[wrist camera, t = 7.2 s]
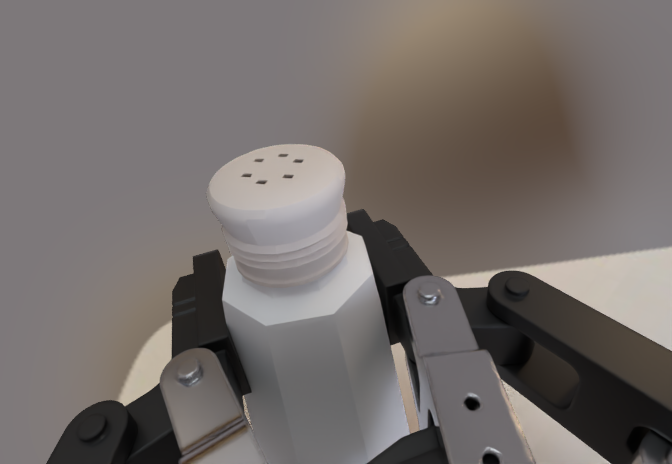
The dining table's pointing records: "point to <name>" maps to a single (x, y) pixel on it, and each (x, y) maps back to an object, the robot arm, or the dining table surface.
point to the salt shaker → (305, 310)
